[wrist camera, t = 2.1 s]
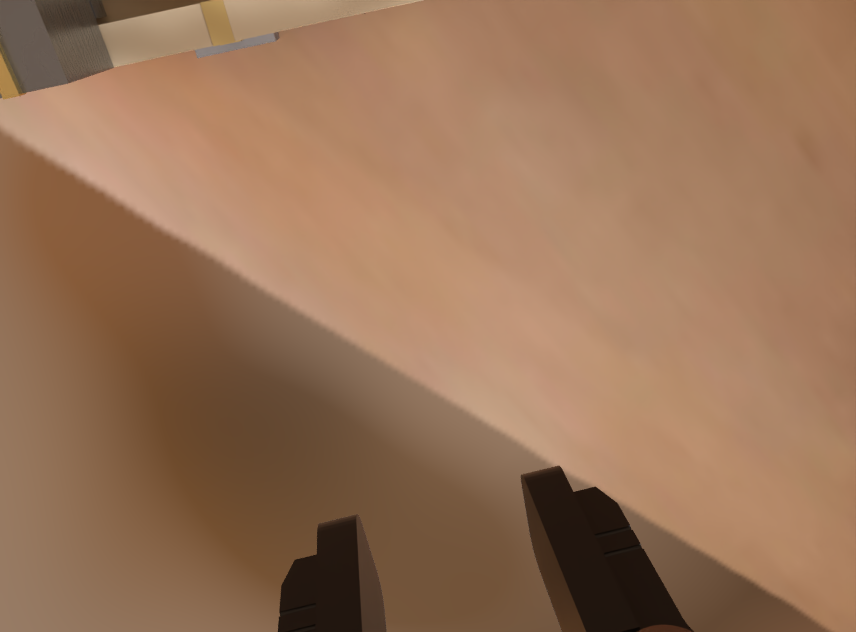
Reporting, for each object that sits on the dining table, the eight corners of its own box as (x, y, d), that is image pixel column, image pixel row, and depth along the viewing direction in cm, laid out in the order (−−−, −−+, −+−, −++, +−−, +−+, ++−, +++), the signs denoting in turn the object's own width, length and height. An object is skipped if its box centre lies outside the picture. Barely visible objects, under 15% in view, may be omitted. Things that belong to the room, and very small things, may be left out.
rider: (-21, -63, 29) (-137, -81, 22) (70, -82, 30) (-14, -106, 22) (41, 83, 32) (-44, 109, 25) (125, 64, 32) (65, 85, 25)
